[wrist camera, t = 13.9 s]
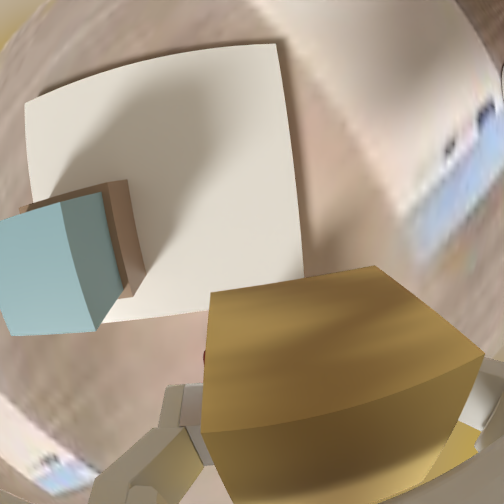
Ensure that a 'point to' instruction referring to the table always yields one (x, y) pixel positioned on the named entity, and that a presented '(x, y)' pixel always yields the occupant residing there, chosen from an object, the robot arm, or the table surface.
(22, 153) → the table surface
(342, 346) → the ochre block
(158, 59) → the board
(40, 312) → the teal block
